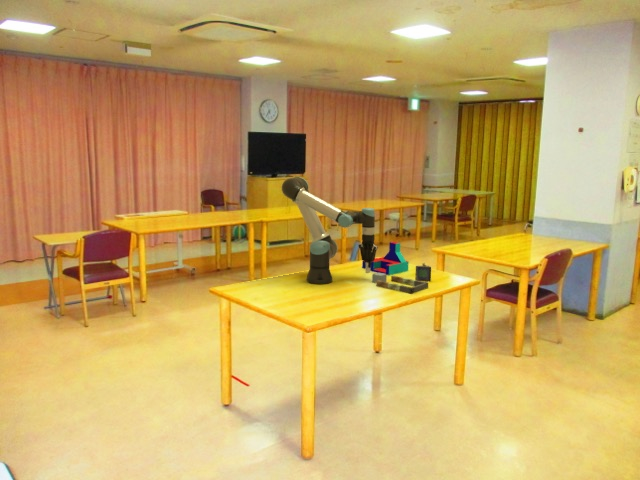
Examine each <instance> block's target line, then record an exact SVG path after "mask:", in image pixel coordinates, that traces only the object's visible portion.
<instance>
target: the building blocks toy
mask: <svg viewBox="0 0 640 480" xmlns="http://www.w3.org/2000/svg"><path fill="white" fill-rule="evenodd" d="M401 243H402V242H399V241H391V242H389V245H388V246H389V247H388V252H387V253H386V254H385V256H381V257H375V259H374V261H373V262H371V268H370V272H372V273H373V272H374V273H378V272H379V273H384V274H387V276H394V275H396V274H401V273H405V272H409V264H410V263H409V260H406V259H405V258H404V255H403V254H402V252H401ZM361 261H362V266H361V267H362V269H365V270H366V267H365V262H364V261H363V260H361Z"/></svg>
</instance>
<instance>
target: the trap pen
mask: <svg viewBox="0 0 640 480" xmlns="http://www.w3.org/2000/svg"><path fill="white" fill-rule="evenodd" d="M400 285H401V286H400V291H399V292H402V293H407V294H411V295H412V294H415V293H418V292H421V291H424V290H426V289H428V288H429V282H428V281H417V280H416V281H414V286H409V285H404V284H403V285H402V284H400Z"/></svg>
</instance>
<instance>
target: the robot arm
mask: <svg viewBox="0 0 640 480" xmlns="http://www.w3.org/2000/svg"><path fill="white" fill-rule="evenodd" d="M281 191H282V194H283V195H284V196H285V197H286V198H288V199H290V200H291V201H292V203H294V204H296V205H297V208H298V210H299V211H300V214H301V216H302V218H303V220H304V223H305V225H306V227H307V228H308V230H309V233H310V235H311V237H312V239H313V240H312V242H311V243H310V245H309V270H308V274H307V275H306V282H307V283H309V284H312V283H313V285H326V284H331V283H332V282H333V277H332V274H331V270H330V259H333V257H335V256H336V254H337V253H338V244H337V242H336V241H335V240H334V239H332V237H331V235H330V234H329V233H327V232H326V230H325V228H324V226H323V224H322V222H321V220H320V217H319V215H318V213H319V214H320V215H323V216H325V217H327V218H328V219H330V220H332V221H334V222H336V223H338V225H339V226H340V227H341V228H349V227H351V226H352V225H354V224H355V225H361V241H362V242H361V243H359V244H358V249H359V251H360V256H361V261H364V262H365V267H366V269H365V273H366V274H369V273H371V271H370V268H371V262H373V261H374V259H375V258H376V255H377V251H378V249H379V247H378V246H377V245H375V237H376V236H375V233H376V229H375V226H376V225H375V223H376V222H375V221H376V216H375V215H376V213H375V212H376V211H375V208H373V207H363V208H362V209H361V211H359V210H357V211H355V210H342V209H340V208H339V207H337V206H335V205H333V204H331V203H329V202H328V201H326V200H324V199H323V198H320V197H318V196H317V195H315V194H312V193H311V192H310V191H309V184H308V181H307V180H306V179H304V178H303V177H300V176H295V177H290V178H287V179H285V180H284V181H283V182H282V183H281ZM317 212H318V213H317Z"/></svg>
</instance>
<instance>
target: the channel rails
mask: <svg viewBox="0 0 640 480" xmlns="http://www.w3.org/2000/svg"><path fill="white" fill-rule="evenodd" d="M390 277H391V279H390V280H391V282H388V281H386V282H384V281H380V280H378V281H376V283H375V285H376V287H378V288H379V287H380V288H384V289H388V290H393V291H396V292H397V291H398V292H401V291H400V286H401V285H402V284H403V285H406V286H411V287H414V281H416V280H415V279H413V278H407V277H402V276H397V275H390ZM392 282H394V283H392ZM399 283H400V284H399Z"/></svg>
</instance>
